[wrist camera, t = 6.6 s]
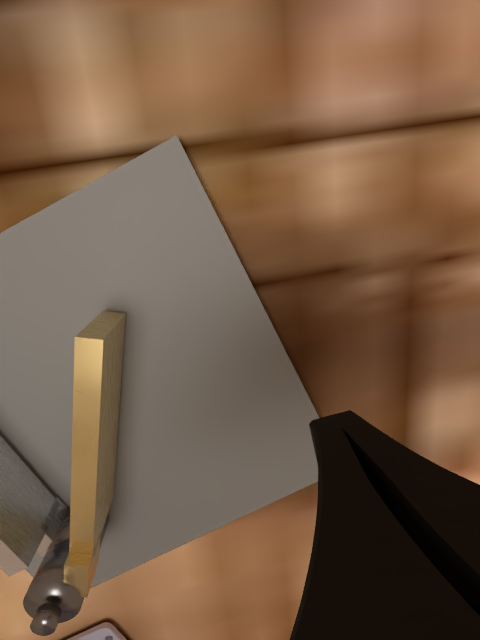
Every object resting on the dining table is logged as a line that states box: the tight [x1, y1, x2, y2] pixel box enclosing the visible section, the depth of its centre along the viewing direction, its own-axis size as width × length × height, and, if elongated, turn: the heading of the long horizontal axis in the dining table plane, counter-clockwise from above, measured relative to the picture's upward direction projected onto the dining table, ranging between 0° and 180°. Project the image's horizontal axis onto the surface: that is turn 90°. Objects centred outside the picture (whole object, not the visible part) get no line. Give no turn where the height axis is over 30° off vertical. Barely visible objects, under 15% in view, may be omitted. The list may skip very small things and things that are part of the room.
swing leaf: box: [23, 311, 126, 623], centre depth 16 cm, size 3×13×4 cm, turn 171°
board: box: [0, 135, 319, 588], centre depth 18 cm, size 19×19×1 cm
